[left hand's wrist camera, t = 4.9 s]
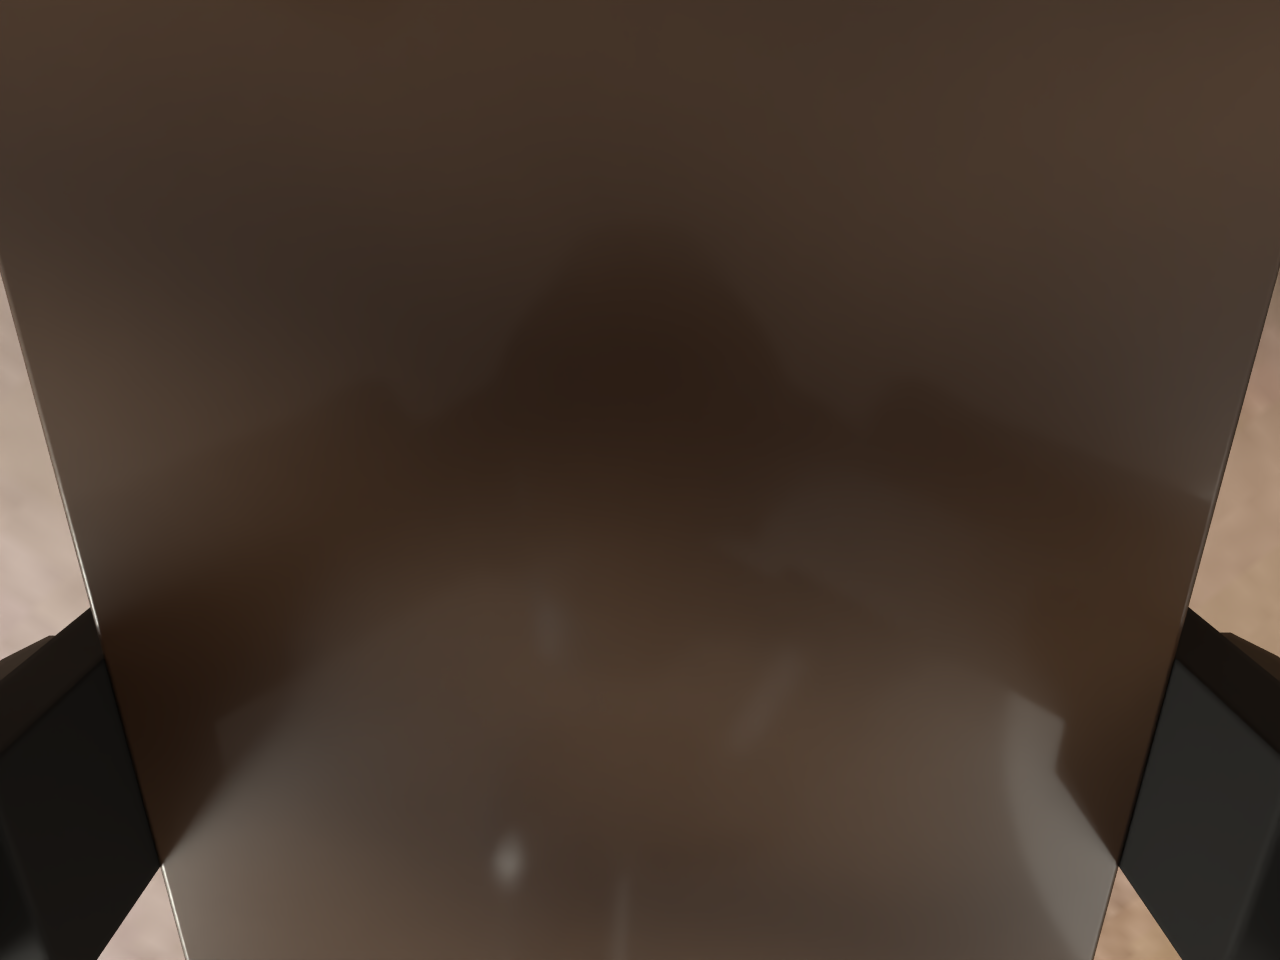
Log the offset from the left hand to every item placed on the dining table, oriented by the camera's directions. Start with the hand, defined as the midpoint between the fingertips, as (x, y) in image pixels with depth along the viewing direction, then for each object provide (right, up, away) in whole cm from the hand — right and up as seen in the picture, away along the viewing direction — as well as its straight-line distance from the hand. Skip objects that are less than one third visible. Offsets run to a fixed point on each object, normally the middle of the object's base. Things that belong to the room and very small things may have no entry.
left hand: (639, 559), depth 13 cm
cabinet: (0, +6, +4) cm, 7 cm away
